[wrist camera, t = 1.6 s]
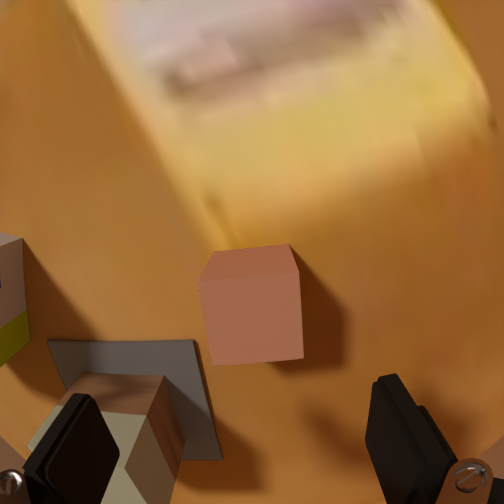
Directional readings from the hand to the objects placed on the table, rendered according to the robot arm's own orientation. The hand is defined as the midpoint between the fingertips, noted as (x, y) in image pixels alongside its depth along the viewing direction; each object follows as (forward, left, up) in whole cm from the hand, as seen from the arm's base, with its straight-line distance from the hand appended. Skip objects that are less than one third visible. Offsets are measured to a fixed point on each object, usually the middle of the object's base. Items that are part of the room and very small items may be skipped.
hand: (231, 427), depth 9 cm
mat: (+11, +11, -13) cm, 21 cm away
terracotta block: (-1, 0, -13) cm, 13 cm away
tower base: (+11, +11, -13) cm, 20 cm away
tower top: (+11, +11, -8) cm, 18 cm away
